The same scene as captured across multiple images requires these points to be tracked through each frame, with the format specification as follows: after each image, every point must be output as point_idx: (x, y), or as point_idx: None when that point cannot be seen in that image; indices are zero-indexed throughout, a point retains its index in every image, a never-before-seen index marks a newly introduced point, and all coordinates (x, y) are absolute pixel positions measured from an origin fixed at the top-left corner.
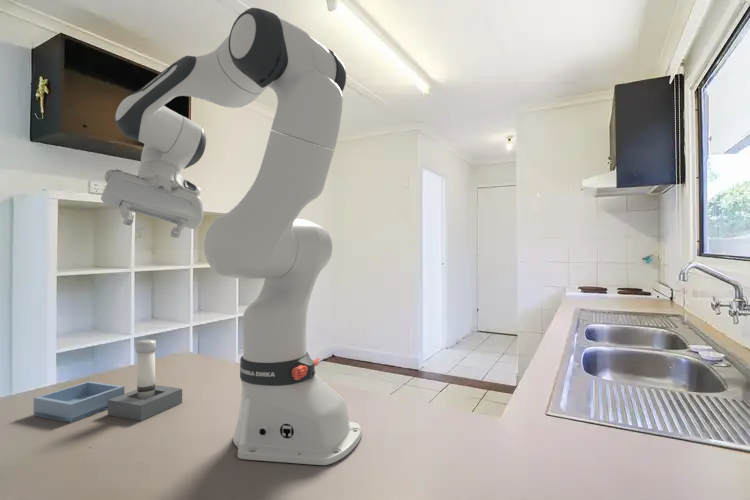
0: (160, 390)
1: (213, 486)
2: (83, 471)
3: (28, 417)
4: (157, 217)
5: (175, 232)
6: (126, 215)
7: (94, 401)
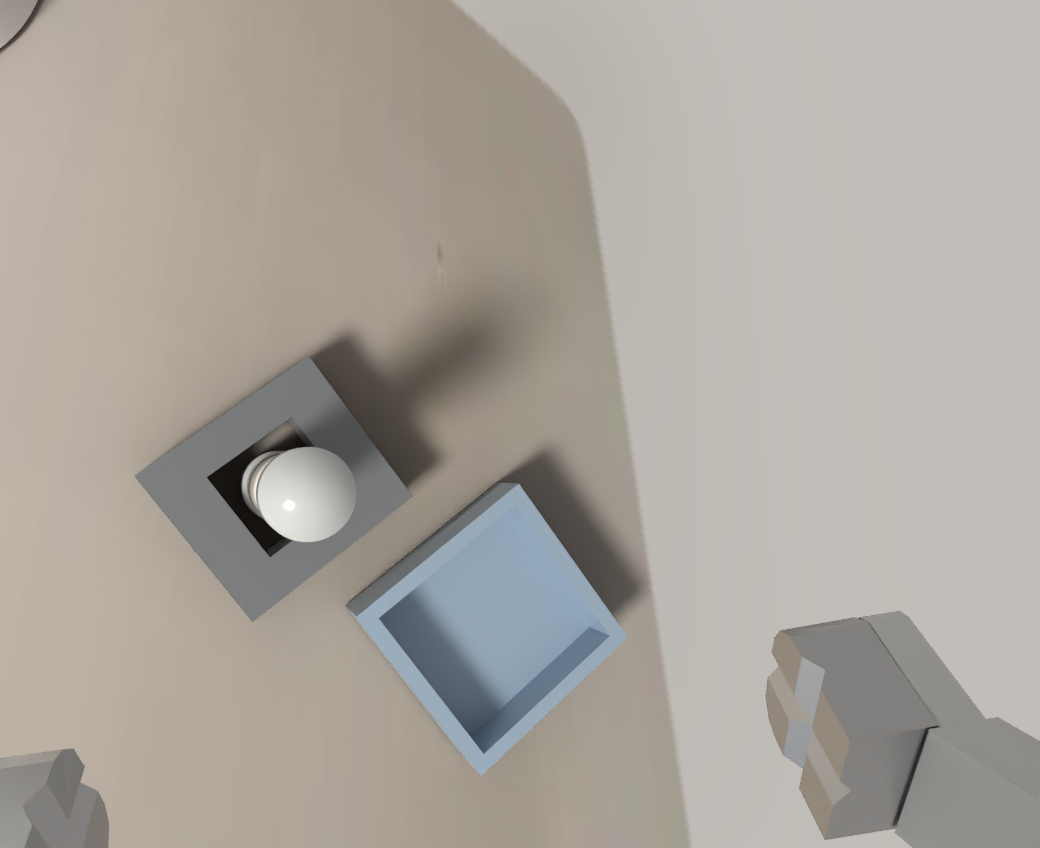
0: (224, 503)
1: None
2: (449, 108)
3: None
4: None
5: (15, 766)
6: (944, 671)
7: (450, 534)
